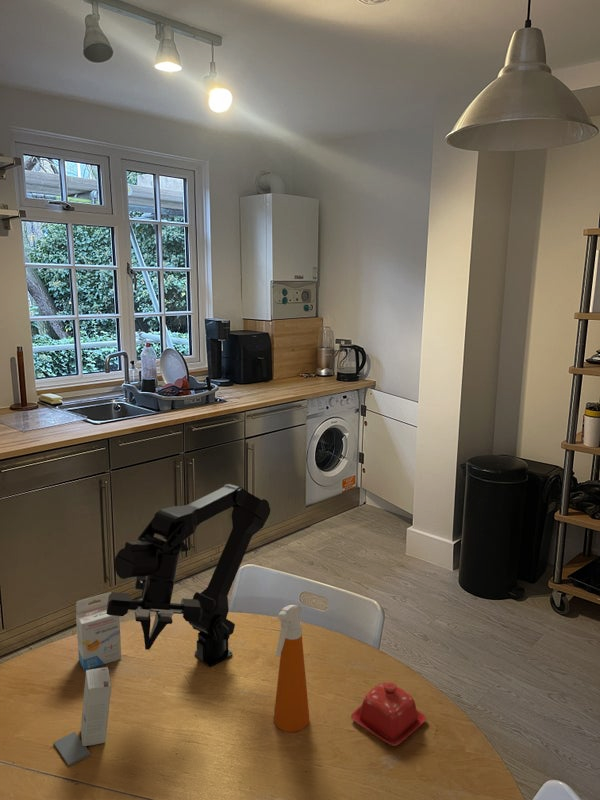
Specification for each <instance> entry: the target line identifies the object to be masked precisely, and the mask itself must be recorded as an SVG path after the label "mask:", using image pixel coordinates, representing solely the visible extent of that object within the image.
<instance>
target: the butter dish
mask: <svg viewBox="0 0 600 800" xmlns="http://www.w3.org/2000/svg"><path fill="white" fill-rule="evenodd" d="M350 719H351V720H353V721H354V722H355V723H356V724H358V725H359V726H361V727H363V728H364V729H366V731H369V732H370V733H371V734H373V735H374V736H376V737H377V738H379V739H380V740H382V741H383V742H384V743H387V744H388V745H390V746H394V747H395V746H397V745H398V746H399V745H400V744H401V743H402V742H403V741H404V740H406V739H408V738H409V736H410V735H412V733H414V732H415V731H416V730H418V728H420V727H421V726H422V725H423V724H424V723H425V722H426V720H427V716H426V715H425V714H424V713H423V712H422V711H419V710H418V709H417V706H416V701H415V698H413V696H412V695H411V694H410V693H408V692H407V691H405V690H404V689H403V688H401V687H399V686H397V685H396V684H395V683H393V682H391V681H390V682H382V683H379V684H378V685H376V686H374V687H373V688H372V689H370V690H369V691H368V692H367V693H366V694H365V696H364V697H363V700H362V703H361V705H360V706H359V707H357V708H356V709H355V710H354V711H353V712H352V713H351V715H350Z"/></svg>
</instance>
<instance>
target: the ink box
mask: <svg viewBox="0 0 600 800" xmlns="http://www.w3.org/2000/svg"><path fill="white" fill-rule="evenodd" d="M111 593H112V592H111V591H110V592H105V593H102V594H98V595H94V596H90V597H87V598H83V599H80V600H77V601H76V602H75V609H76V610H75V611H76V614H75V621H76V622H75V623H76V634H77V635H76V637H77V649H78V650H77V651H78V661H79V663H80V665H81V667H82V668H83V671H85V672H86V670H91V669H95V668H97V667H100V666H102V665H106V664H109V663H113V662H115V661H119V660H122V644H121V641H122V640H121V625H120V624H121V623H120V621H121V620H120V616H112V615H108V614H107V602H108V597H109V595H110V594H111ZM94 601H99V602H94ZM92 602H94V603H92ZM89 603H91V604H89Z"/></svg>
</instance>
